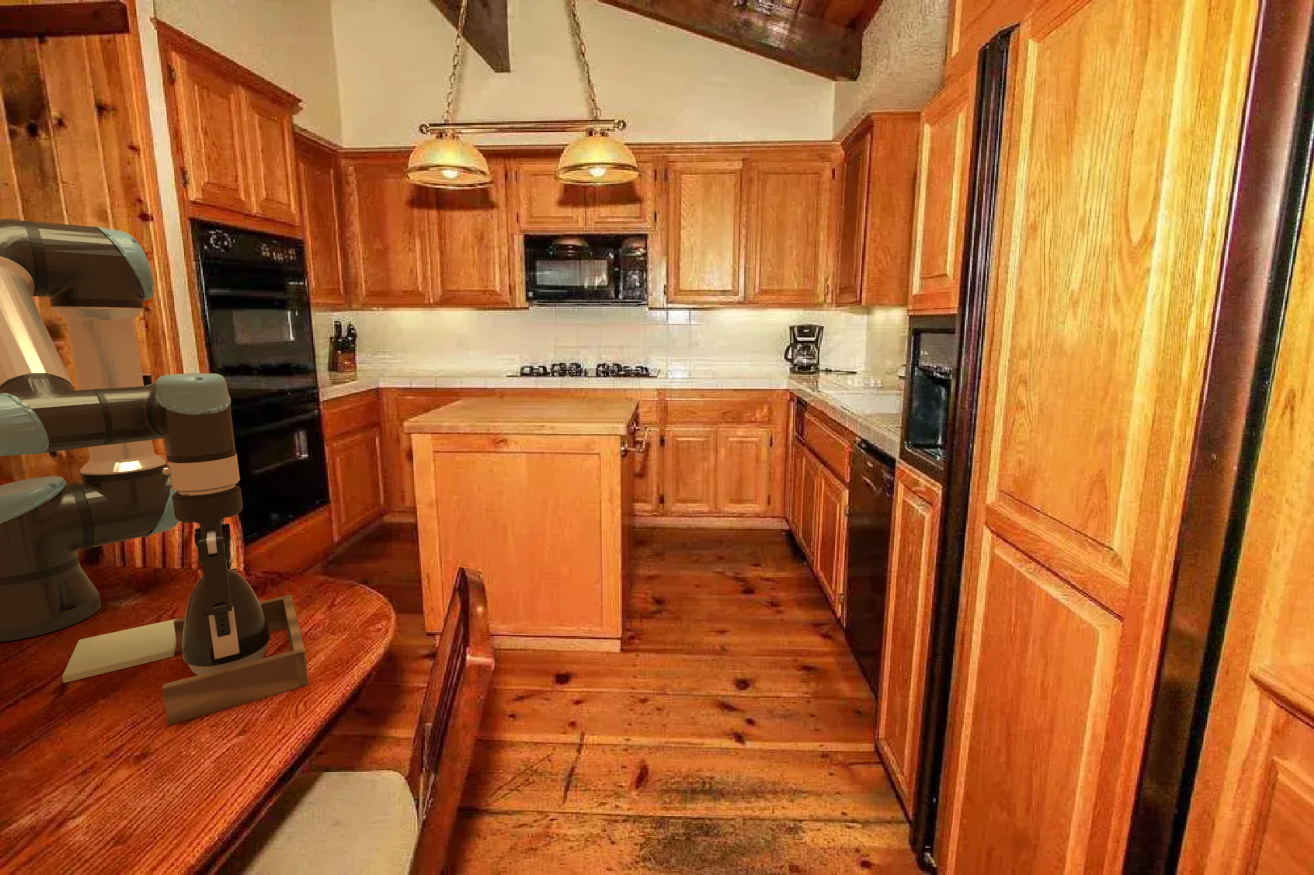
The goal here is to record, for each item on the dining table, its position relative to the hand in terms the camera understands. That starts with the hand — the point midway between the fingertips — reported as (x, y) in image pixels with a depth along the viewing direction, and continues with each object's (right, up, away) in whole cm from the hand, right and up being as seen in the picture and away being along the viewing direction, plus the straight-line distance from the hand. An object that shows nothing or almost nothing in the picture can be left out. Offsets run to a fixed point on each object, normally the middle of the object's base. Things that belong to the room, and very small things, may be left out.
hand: (227, 637), depth 86 cm
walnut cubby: (+1, -5, +1) cm, 5 cm away
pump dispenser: (0, -5, +1) cm, 5 cm away
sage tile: (-19, -4, +6) cm, 20 cm away
